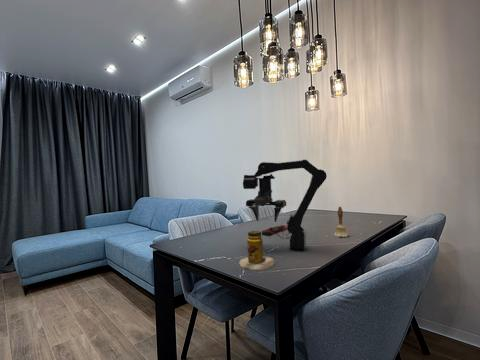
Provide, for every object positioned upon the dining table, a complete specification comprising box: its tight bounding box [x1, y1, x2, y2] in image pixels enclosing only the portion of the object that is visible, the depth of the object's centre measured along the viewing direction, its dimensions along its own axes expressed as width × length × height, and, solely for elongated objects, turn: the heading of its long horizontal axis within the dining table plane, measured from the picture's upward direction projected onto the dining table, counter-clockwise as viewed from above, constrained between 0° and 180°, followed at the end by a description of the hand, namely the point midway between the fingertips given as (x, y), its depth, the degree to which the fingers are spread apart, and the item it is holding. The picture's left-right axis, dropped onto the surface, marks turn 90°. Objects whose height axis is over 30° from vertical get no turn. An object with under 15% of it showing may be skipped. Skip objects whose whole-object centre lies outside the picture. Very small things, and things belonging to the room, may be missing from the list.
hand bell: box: [333, 206, 349, 236], centre depth 144 cm, size 8×8×16 cm
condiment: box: [246, 230, 266, 264], centre depth 108 cm, size 7×8×12 cm
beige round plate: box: [238, 255, 275, 271], centre depth 107 cm, size 14×14×1 cm
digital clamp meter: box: [261, 224, 306, 240], centre depth 154 cm, size 23×4×25 cm
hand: (266, 221), depth 127 cm, fingers open, 9 cm apart
